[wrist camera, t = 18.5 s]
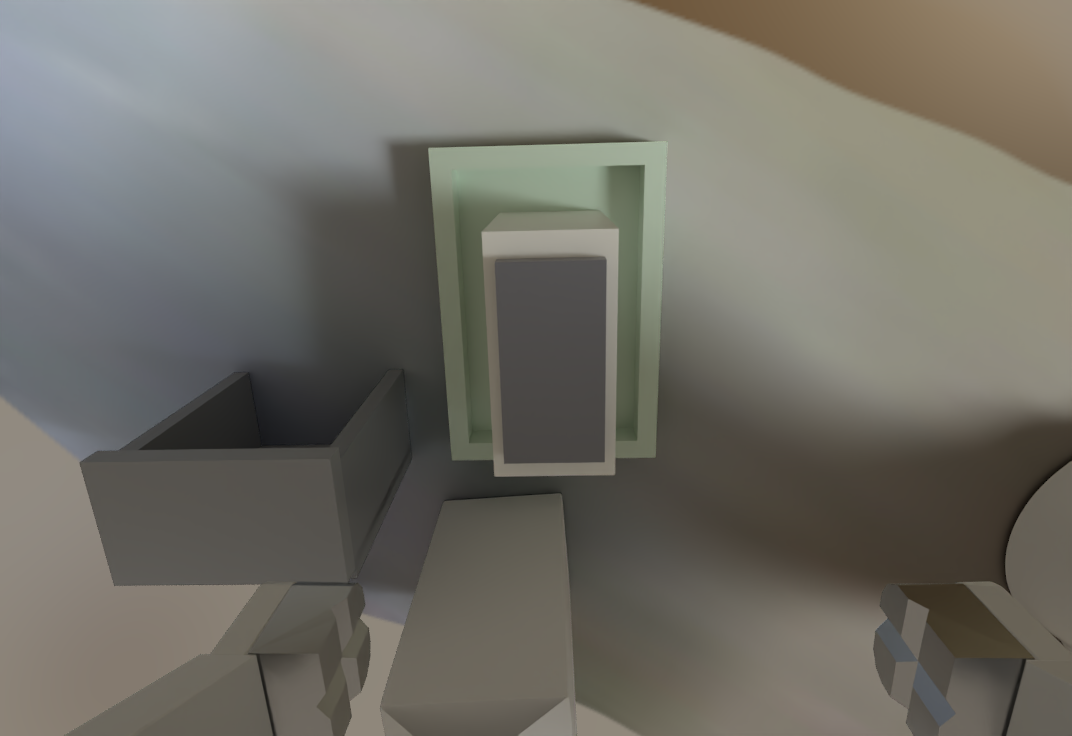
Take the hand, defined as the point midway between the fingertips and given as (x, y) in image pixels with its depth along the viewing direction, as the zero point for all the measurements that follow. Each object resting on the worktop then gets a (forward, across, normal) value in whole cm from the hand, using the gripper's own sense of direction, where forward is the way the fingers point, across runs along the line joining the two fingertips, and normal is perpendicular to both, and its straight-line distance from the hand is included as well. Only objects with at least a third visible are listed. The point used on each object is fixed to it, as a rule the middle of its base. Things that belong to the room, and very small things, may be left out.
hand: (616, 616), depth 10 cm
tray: (+25, +2, 0) cm, 25 cm away
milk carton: (+25, +4, +15) cm, 30 cm away
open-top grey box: (+24, +15, +6) cm, 29 cm away
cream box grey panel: (+24, +2, 0) cm, 24 cm away
